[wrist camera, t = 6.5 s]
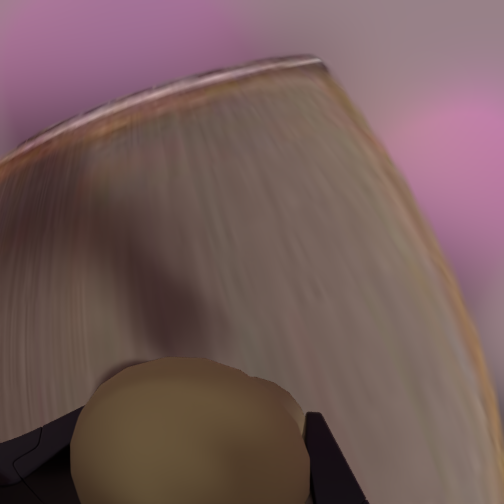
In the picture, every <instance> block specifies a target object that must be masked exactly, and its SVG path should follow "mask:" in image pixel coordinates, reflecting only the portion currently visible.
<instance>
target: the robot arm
mask: <svg viewBox="0 0 504 504" xmlns="http://www.w3.org/2000/svg"><path fill="white" fill-rule="evenodd" d="M84 406H85V405H84ZM84 406H82V407H80V408H78V409H76V410H74V411H72V412H70V413H68V414H66V415H64V416H62V417H60V418H58V419H56V420H54V421H52V422H50V423H48V424H46V425H44V426H43V428H42V427H40V428H37V429H35V430H33V431H31V432H29V433H26V434H24V435H22V436H19V437H17V438H14V439H11V440H9V441H6V442H3V443H0V504H81V503H80V500H79V497H78V494H77V491H76V488H75V485H74V482H73V478H72V475H71V463H70V443H71V439H72V436H73V433H74V429H75V426H76V423H77V420H78V417H79V415H80V413H81V411H82V409H83V408H84ZM302 438H303V440H304V443H305V446H306V449H307V452H308V454H309V457H310V494H309V496H308V499H307V501H306V504H369V502H368V500H365V499H366V497H365V495H364V493H363V491H362V489H361V487H360V486H359V484H358V482H357V480H356V478H355V476H354V474H353V472H352V471H351V469H350V467H349V465H348V463H347V461H346V459H345V457H344V456H343V454H342V452H341V450H340V448H339V446H338V444H337V442H336V440H335V438H334V437H333V435H332V433H331V431H330V429H329V427H328V425H327V423H326V421H325V419H324V417H323V416H322V414H321V413H320V412H307V413H306V416H305V422H304V427H303V433H302Z"/></svg>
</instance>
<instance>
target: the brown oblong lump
mask: <svg viewBox="0 0 504 504" xmlns="http://www.w3.org/2000/svg"><path fill="white" fill-rule="evenodd" d="M304 422H305V417H304V414H303V412H302V409H301V407H300V406H299V404H298V403H297V402H296V401H295V399H294V398H293V397H292V396H291V394H290V393H289V392H287V391H286V390H284V389H283V388H281V387H280V386H278V385H277V384H275V383H274V382H271V381H267V380H264V379H261V378H257V377H250V376H248V375H247V374H245V373H244V372H242V371H241V370H239V369H235V368H232V367H229V366H226V365H223V364H220V363H217V362H214V361H212V360H209V359H206V358H189V357H164V358H160V359H156V360H153V361H149V362H145V363H142V364H138V365H134V366H130V367H127V368H125V369H124V370H122V371H121V372H119V373H118V374H116V375H115V376H113V377H112V378H110V379H109V380H107V381H106V382H104V383H103V384H101V385H100V386H99V388H98V389H97V390H96V392H95V393H94V394H93V396H92V397H91V398H90V400H89V401H88V402H87V404H86V405H85V406H84V408H83V409H82V411H81V413H80V415H79V417H78V420H77V423H76V426H75V429H74V433H73V436H72V439H71V443H70V463H71V475H72V478H73V482H74V485H75V488H76V491H77V494H78V497H79V500H80V503H81V504H306V501H307V499H308V496H309V494H310V457H309V454H308V452H307V449H306V446H305V443H304V440H303V438H302V433H303V427H304Z"/></svg>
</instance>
